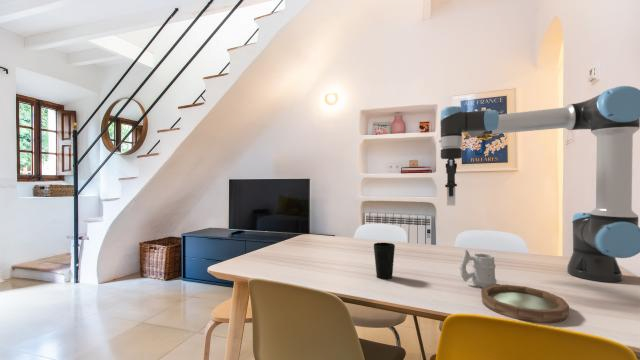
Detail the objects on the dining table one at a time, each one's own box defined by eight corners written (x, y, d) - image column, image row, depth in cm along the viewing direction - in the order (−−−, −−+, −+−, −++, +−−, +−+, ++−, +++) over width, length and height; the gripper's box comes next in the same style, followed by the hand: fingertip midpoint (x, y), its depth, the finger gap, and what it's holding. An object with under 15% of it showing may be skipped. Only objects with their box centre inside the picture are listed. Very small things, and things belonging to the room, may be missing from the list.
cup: (397, 275, 118) (396, 243, 118) (392, 281, 111) (392, 247, 111) (376, 273, 121) (376, 241, 121) (371, 278, 114) (371, 245, 114)
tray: (554, 299, 94) (554, 289, 94) (579, 328, 75) (579, 316, 75) (479, 290, 101) (479, 281, 101) (485, 315, 83) (485, 304, 83)
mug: (501, 288, 103) (501, 251, 103) (465, 288, 103) (465, 252, 103) (488, 280, 111) (488, 246, 111) (455, 281, 111) (455, 247, 111)
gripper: (442, 151, 133) (442, 201, 133) (439, 145, 110) (439, 206, 110) (461, 150, 130) (461, 202, 130) (462, 144, 107) (462, 207, 107)
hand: (451, 204), depth 120 cm, fingers open, 13 cm apart
